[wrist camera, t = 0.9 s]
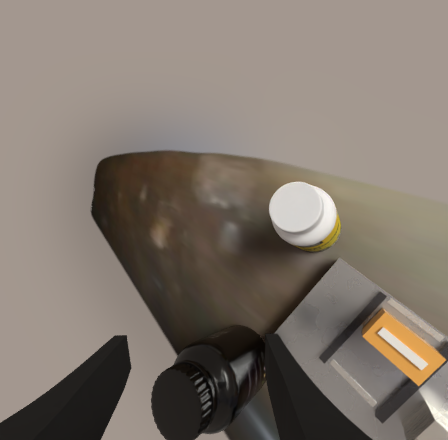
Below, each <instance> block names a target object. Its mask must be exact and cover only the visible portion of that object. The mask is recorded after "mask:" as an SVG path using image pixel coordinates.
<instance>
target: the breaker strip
mask: <svg viewBox="0 0 448 440" xmlns="http://www.w3.org/2000/svg"><path fill="white" fill-rule="evenodd" d="M381 308H383V309H385V310H386V311H387V312H389V313H390V314H391V315H392V316H394V317H395V318H396V319H398V320H399V321H400V322H401V323H403V324H404V325H405V326H407V327H408V328H409V329H411V330H412V331H413V332H414V333H416V334H417V335H418V336H420V337H421V338H422V339H423V340H425V341H426V342H427V343H429V344H430V345H431V346H432V347H434V348H435V349H436V350H437V351H438V352H439V353H440V354H441V355H442V356H443V357H444V358H445V359H446V361H445V362H444V363H443V364H442V365H441V366H440V367H439V368H437V369H436V370H435V371H434V372H433V373H432V374H431V375H430V376H429V377H428V378H427V379H426V380H425V381H424V382H423V383H422V384H421V385H420V386H418V385H417V384H416V383H415V382H414V381H412V380H411V379H410V378H409V377H408V376H407V375H406V374H404V373H403V372H402V371H401V370H400V369H399V368H398V367H396V366H395V365H394V364H393V363H392V362H391V361H390V360H389V359H387V358H386V357H385V356H384V355H383V354H382V353H381V352H379V351H378V350H377V349H376V348H375V347H374V346H373V345H371V344H370V343H369V342H368V341H367V340H366V339H365V338H363V337H362V329H363V328H364V326H365V325H366V324H367V323H368V322H369V321H370V320H371V319H372V318H373V317H374V316H375V315H376V314H377V313H378V312H379V311H380V309H381ZM274 334H278V335H279V336H280V337H281V339H282V341H283V342H284V344H285V345H286V347H287V348H288V350H289V351H290V353H291V354H292V356H293V357H294V358H295V360H296V361H297V362H298V364H299V365H300V366H301V368H302V369H303V370H304V372H305V373H306V374H307V375H308V377H309V378H310V379H311V380H312V381H313V382H314V384H315V385H316V386H317V387H318V388H319V389H320V390H321V392H322V393H323V394H324V395H325V396H326V397H327V398H328V399H329V400H330V401H331V402H332V403H333V404H334V405H335V406H336V407H337V408H338V409H339V410H340V411H341V412H342V413H343V414H344V415H345V416H346V417H347V418H348V419H350V420H351V421H352V422H353V423H354V424H355V425H356V426H357V427H358V428H360V429H361V430H362V431H363V432H364V433H365V434H366V435H368V436H369V437H370V438H371V439H373V440H448V337H447V336H446V335H444V334H443V333H441V332H440V331H439V330H437V329H436V328H435V327H433V326H432V325H431V324H429V323H428V322H426V321H425V320H424V319H422V318H421V317H420V316H418V315H417V314H416V313H414V312H413V311H411V310H410V309H409V308H407V307H406V306H405V305H403V304H402V303H401V302H399V301H398V300H396V299H395V298H394V297H392V296H391V295H390V294H388V293H387V292H386V291H384V290H383V289H382V288H380V287H379V286H377V285H376V284H375V283H373V282H372V281H371V280H369V279H368V278H367V277H365V276H364V275H362V274H361V273H360V272H358V271H357V270H356V269H354V268H353V267H352V266H350V265H349V264H347V263H346V262H345V261H343V260H342V259H341V258H339V259H338V260H337V261H336V262H335V264H334V265H333V266H332V267H331V268H330V269H329V270H328V272H327V273H326V274H325V275H324V276H323V277H322V279H321V280H320V281H319V282H318V283H317V284H316V286H315V287H314V288H313V289H312V290H311V291H310V292H309V294H308V295H307V296H306V297H305V298H304V299H303V301H302V302H301V303H300V304H299V305H298V306H297V308H296V309H295V310H294V311H293V312H292V313H291V314H290V316H289V317H288V318H287V319H286V320H285V321H284V323H283V324H282V325H281V326H280V327H279V328H278V330H277V331H276V332H275V333H274Z"/></svg>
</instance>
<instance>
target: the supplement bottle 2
mask: <svg viewBox="0 0 448 440" xmlns="http://www.w3.org/2000/svg"><path fill="white" fill-rule="evenodd" d="M269 214H270V217H271V219H272V224H273V227H274V229H275V231H276V232H277V234H278V235H279V236H280V237H281V238H282V239H283V240H285V241H286V242H288V243H290V244H292V245H294V246H296V247H298V248H300V249H302V250H305V251H309V252H320V251H324V250H326V249H328V248H330V247H331V246H333V245H334V244H335V242H336V241H337V240H338V238H339V236H340V232H341V223H340V219H339V216H338V213H337V210H336V207H335V204H334V202H333V200H332V199H331V197H330V196H329V195H328V194H327V193H326V192H325V191H323V190H322V189H320V188H318V187H315V186H312V185H309V184H307V183H303V182H291V183H288V184H286V185H284V186H282V187H280V188H279V189H278V190H277V191H276V192H275V193H274V195H273V196H272V198H271V201H270V204H269Z"/></svg>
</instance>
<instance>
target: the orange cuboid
mask: <svg viewBox="0 0 448 440" xmlns="http://www.w3.org/2000/svg"><path fill="white" fill-rule="evenodd" d="M362 337H363V338H365V339H366V340H367V341H368V342H369V343H370V344H371V345H373V346H374V347H375V348H376V349H377V350H378V351H379V352H381V353H382V354H383V355H384V356H385V357H386V358H387V359H389V360H390V361H391V362H392V363H393V364H394V365H395V366H396V367H398V368H399V369H400V370H401V371H402V372H403V373H404V374H406V375H407V376H408V377H409V378H410V379H411V380H412V381H414V382H415V383H416V384H417V385H418V386H420V385H421V384H422V383H423V382H424V381H425V380H426V379H427V378H428V377H429V376H430V375H431V374H432V373H433V372H434V371H435V370H436V369H437V368H439V367H440V366H441V365H442V364H443V363H444V362H445V361H446V359H445V358H444V357H443V356H442V355H441V354H440V353H439V352H438V351H437V350H436V349H435V348H434V347H432V346H431V345H430V344H429V343H427V342H426V341H425V340H423V339H422V338H421V337H420V336H418V335H417V334H416V333H414V332H413V331H412V330H411V329H409V328H408V327H407V326H405V325H404V324H403V323H401V322H400V321H399V320H398V319H396V318H395V317H394V316H392V315H391V314H390V313H389V312H387V311H386V310H385V309H383V308H381V309H380V311H379V312H378V313H377V314H376V315H375V316H374V317H373V318H372V319H371V320H370V321H369V322H368V323H367V324H366V325H365V326H364V328H363V329H362Z"/></svg>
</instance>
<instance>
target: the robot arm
mask: <svg viewBox="0 0 448 440" xmlns="http://www.w3.org/2000/svg"><path fill="white" fill-rule="evenodd" d="M130 370H131V363H130V357H129V349H128V342H127V336H126V335H122V336H114V337H113V338H111V339H110V340H109V341H108V342H107V343H106V344H105V345H103V346H102V347H101V348H100V349H99V350H98V351H97V352H95V353H94V354H93V355H92V356H91V357H90V358H88V359H87V360H86V361H85V362H84V363H83V364H81V365H80V366H79V367H78V368H77V369H75V370H74V371H73V372H72V373H70V374H69V375H68V376H67V377H66V378H64V379H63V380H62V381H61V382H59V383H58V384H57V385H55V386H54V387H53V388H51V389H50V390H49V391H47V392H46V393H45V394H43V395H42V396H40V397H39V398H38V399H36V400H35V401H33V402H32V403H30V404H29V405H27V406H26V407H24V408H23V409H21V410H20V411H18V412H17V413H15V414H13V415H12V416H10V417H9V418H7V419H6V420H4V421H3V422H1V423H0V440H101V438H102V436H103V434H104V431H105V429H106V427H107V425H108V423H109V421H110V419H111V417H112V414H113V412H114V410H115V408H116V406H117V404H118V401H119V399H120V397H121V395H122V393H123V390H124V388H125V385H126V382H127V379H128V376H129V373H130ZM265 372H266V379H267V386H268V391H269V396H270V400H271V404H272V408H273V412H274V416H275V420H276V424H277V429H278V433H279V437H280V440H373V439H371V438H370V437H369V436H368V435H366V434H365V433H364V432H363V431H362V430H361V429H360V428H358V427H357V426H356V425H355V424H354V423H353V422H352V421H351V420H350V419H348V418H347V417H346V416H345V415H344V414H343V413H342V412H341V411H340V410H339V409H338V408H337V407H336V406H335V405H334V404H333V403H332V402H331V401H330V400H329V399H328V398H327V397H326V396H325V395H324V394H323V393H322V392H321V390H320V389H319V388H318V387H317V386H316V385H315V384H314V382H313V381H312V380H311V379H310V378H309V377H308V375H307V374H306V373H305V372H304V370H303V369H302V368H301V366H300V365H299V364H298V362H297V361H296V360H295V358H294V357H293V356H292V354H291V353H290V351H289V350H288V348H287V347H286V345H285V344H284V342H283V341H282V339H281V337H280V336H279V335H278V334H265Z"/></svg>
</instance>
